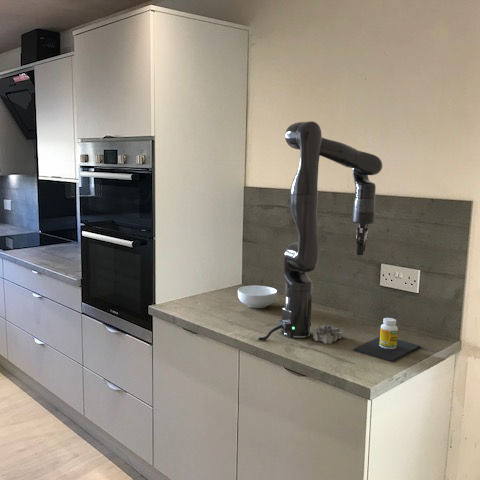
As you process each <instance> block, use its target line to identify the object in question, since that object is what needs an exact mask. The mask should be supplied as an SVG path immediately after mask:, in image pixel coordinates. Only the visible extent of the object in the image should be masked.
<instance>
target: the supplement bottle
mask: <svg viewBox="0 0 480 480" xmlns="http://www.w3.org/2000/svg"><path fill="white" fill-rule="evenodd" d="M382 320H383V321H382V324H381V325H380V328H379V329H380V331H379V337H380V344H379V345H380V347H382V348H385V349H395V348H396V346H397V340H398V333H399V328H398V326H397V319H395V318H392V317H384V318H383V319H382Z"/></svg>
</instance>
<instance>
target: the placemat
mask: <svg viewBox="0 0 480 480" xmlns="http://www.w3.org/2000/svg"><path fill="white" fill-rule="evenodd" d="M379 344H380V336H379V337H377V338H374V339H372V340H370V341H368V342H366V343H363V344H361V345H359V346H356V347H355V348H354V349H353V350H354V351H356V352H359V353H361V354H366V355H369V356H372V357H376V358H379V359H382V360H385V361H389V362H392V363H393V362H394V361H397V360H399V359H401V358H402V357H405V356H406V355H408V354H410V353H412V352H414V351H417V350H418V349H420V348H421V345H419V344H415V343H413V342H408V341H405V340H401V339H397V346H396V348H395V349H385V348H382V347H380V345H379Z"/></svg>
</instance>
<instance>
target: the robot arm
mask: <svg viewBox="0 0 480 480" xmlns="http://www.w3.org/2000/svg"><path fill="white" fill-rule="evenodd" d="M284 138H285V142H286V144H287V145H288V146H289V147H290V148H292V149H294V150H300V151H299V153H300V155H299V165H298V169H297V171H296V173H295V174H294V175H295V176H294V178H293V179H292V182H291V185H290V189H289V208H290V212H291V216H292V219H293V220H294V224H295V227H296V229H297V236H298V237H297V238H298V241H297V242H293V243H290V244H289V245H287V247H286V249H285V251H284V255H283V279H284V282H285V295H284V307H282V308H281V319H279V320H278V323H277V326H276V327H274V328H272V329H271V330H269V331H268V333H267V334H266V336H263V337H258V338H257V340H258V341H265V340H266V341H267V340H268V339H269V338H270V336H271V335H272V334H273V333H274V332H275V331H277V330H280V333H281V334H283V335H284V336H286V337H288V338H289V339H306V338H309V337H310V336H311V327H312V322H311V320H312V302H313V281H312V279H311V278H310V277H309V275H308V273H311V272H312V271H314V270H315V269H316V268H317V265H318V263H319V258H320V253H319V240H318V200H319V199H318V198H319V195H318V194H319V190H318V189H319V188H318V186H319V185H318V183H319V164H320V157H323V158H325V159H328V160H330V161H332V162H334V163H336V164H339V165H341V166H343V167H346V168H349V169H351V171H352V177H353V182H354V186H355V189H354V201H353V209H352V223H354V224H358V226H357V227H356V230H355V231H356V237H355V238H356V242H355V243H356V255H357V256H363V255H364V252H366V243H367V239H368V235H369V229H370V228H369V227H368V226H369V225H372V224H374V223H375V215H376V191H377V190H376V189H377V187H376V184H375V182H373V181H371V180H370V178H369V176H376V175H378V174H379V173H380V172H381V171H382V170H383V162H382V160H381V159H380V157H379V156H377V155H375V154H373V153H370V152H366V151H362V150H359V149H356V148H354V147H352V146H351V145H348V144H346V143H343V142H340V141H337V140H333V139H328V138H325V137H323V134H322V128H321V126H320V124H318V123H317V122H316V121H314V120H313V121H312V120H308V121H298V122H293V123H292V124H290V125H289V126H288V127H287V128H286V130H285V133H284Z"/></svg>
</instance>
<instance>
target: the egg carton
mask: <svg viewBox="0 0 480 480" xmlns="http://www.w3.org/2000/svg"><path fill="white" fill-rule="evenodd" d="M343 332H344V330H343V329H341V330H340V329H339V327H335V326H333V325H329V324H327V323H325V324H324V325H323V326H319V327H317V328H315V329H314V328H313V329H312V332H311V333H312V334H313V338H312V339H313V340H314V341H315V342H322V343H323V344H329V345H330V344H333V342H337V340H341V339H342V334H343Z"/></svg>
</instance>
